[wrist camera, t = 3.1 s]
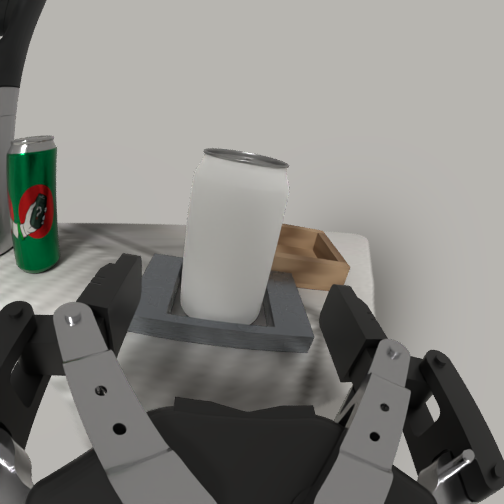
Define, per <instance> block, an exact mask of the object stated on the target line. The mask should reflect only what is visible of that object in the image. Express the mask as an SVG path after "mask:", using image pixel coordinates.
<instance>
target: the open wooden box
mask: <svg viewBox="0 0 504 504" xmlns="http://www.w3.org/2000/svg"><path fill="white" fill-rule="evenodd" d="M271 270H272V271H279V272H286V273H292V276H293V279H294V281H295V284H296V287H299V288H307V289H316V290H325V291H329V290H330V288H331V286H332V285H333V284H338V285H344V283H345V280H346V277H347V275H348V272H349V270H350V266H349V265H348V264H347V262H346V261H345V260H344V258H343V257H342V256H341V254H340V253H339V252H338V250H337V249H336V248H335V246H334V245H333V244H332V242H331V241H330V240H329V238H328V237H327V236H326V235H325V233H324V232H323V231H320V230H315V229H310V228H304V227H299V226H293V225H287V224H282V226H281V231H280V235H279V239H278V243H277V247H276V251H275V255H274V259H273V263H272V267H271Z"/></svg>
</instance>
